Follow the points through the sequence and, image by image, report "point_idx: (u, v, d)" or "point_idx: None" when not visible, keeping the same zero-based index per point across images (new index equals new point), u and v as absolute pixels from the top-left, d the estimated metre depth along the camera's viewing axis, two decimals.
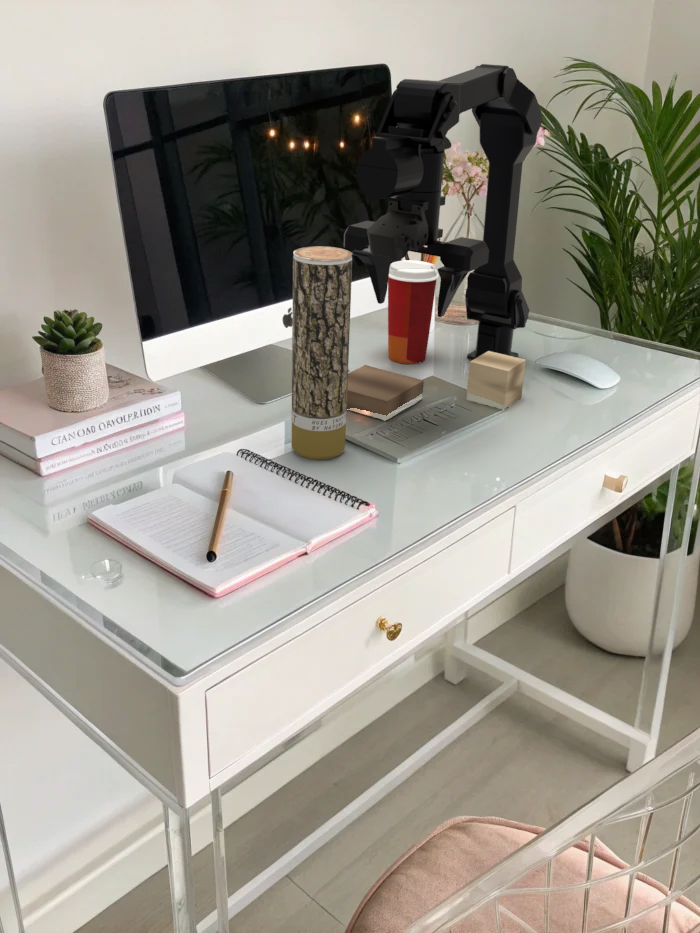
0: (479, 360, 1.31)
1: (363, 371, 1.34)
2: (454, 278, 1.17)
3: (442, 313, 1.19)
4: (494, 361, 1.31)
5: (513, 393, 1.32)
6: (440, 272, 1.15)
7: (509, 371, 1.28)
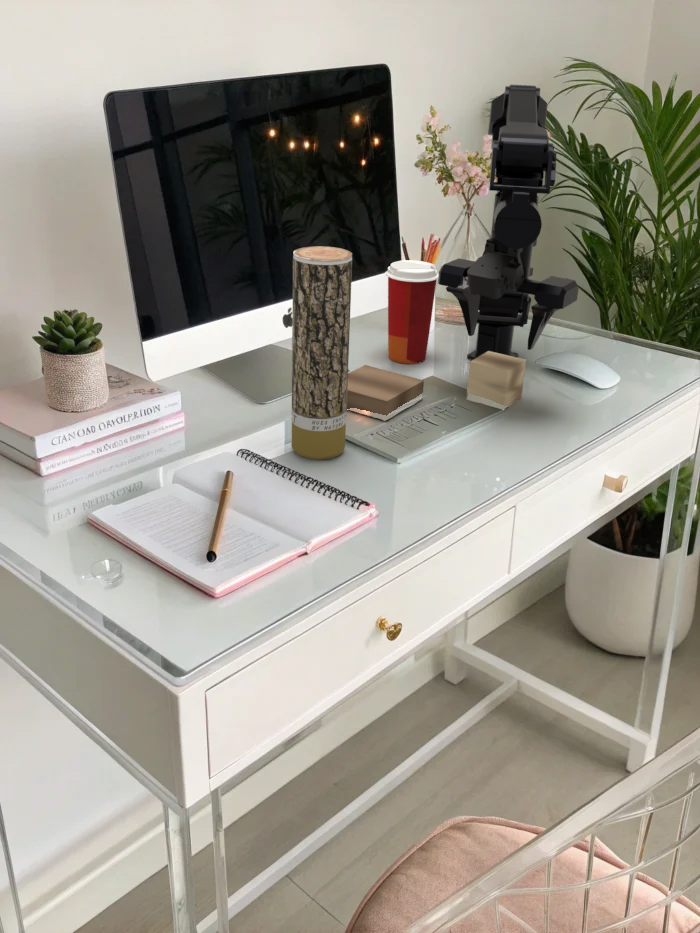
0: (479, 360, 1.31)
1: (363, 371, 1.34)
2: None
3: (532, 346, 1.28)
4: (494, 361, 1.31)
5: (513, 393, 1.32)
6: (533, 309, 1.23)
7: (509, 371, 1.28)
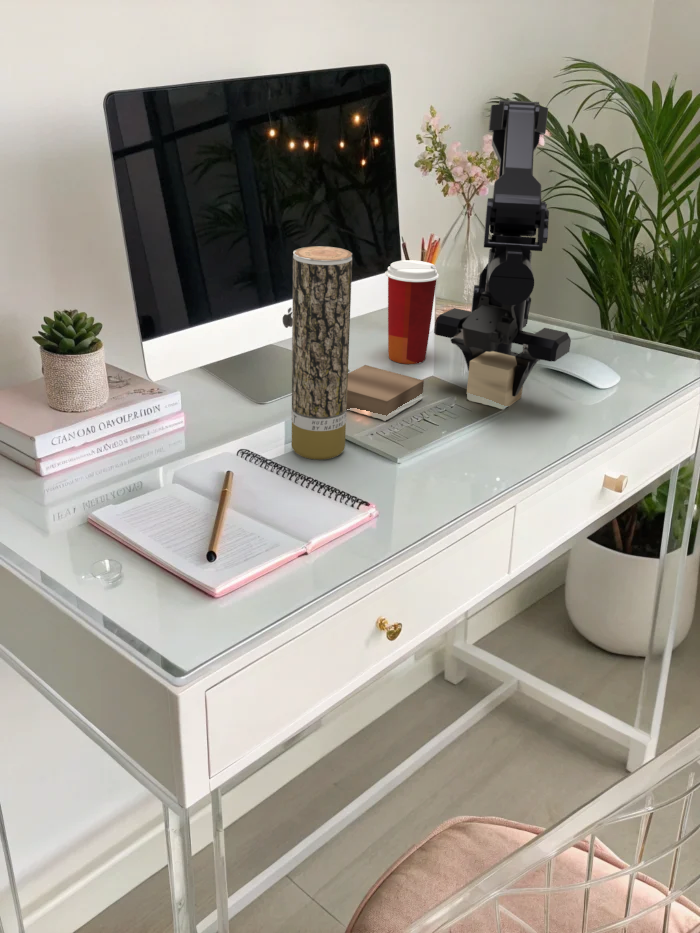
0: (479, 359, 1.31)
1: (363, 371, 1.34)
2: (528, 362, 1.29)
3: (516, 393, 1.31)
4: (494, 360, 1.31)
5: None
6: (517, 359, 1.27)
7: (509, 370, 1.28)
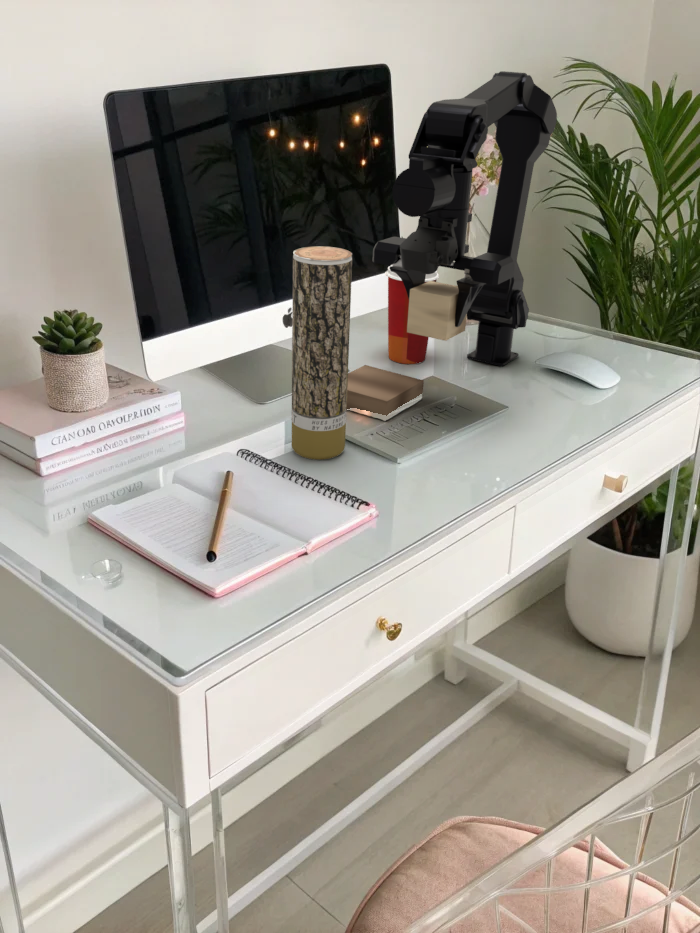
0: (420, 288, 1.24)
1: (363, 371, 1.34)
2: (471, 290, 1.23)
3: (459, 323, 1.25)
4: (435, 289, 1.25)
5: None
6: (459, 284, 1.20)
7: (451, 297, 1.21)
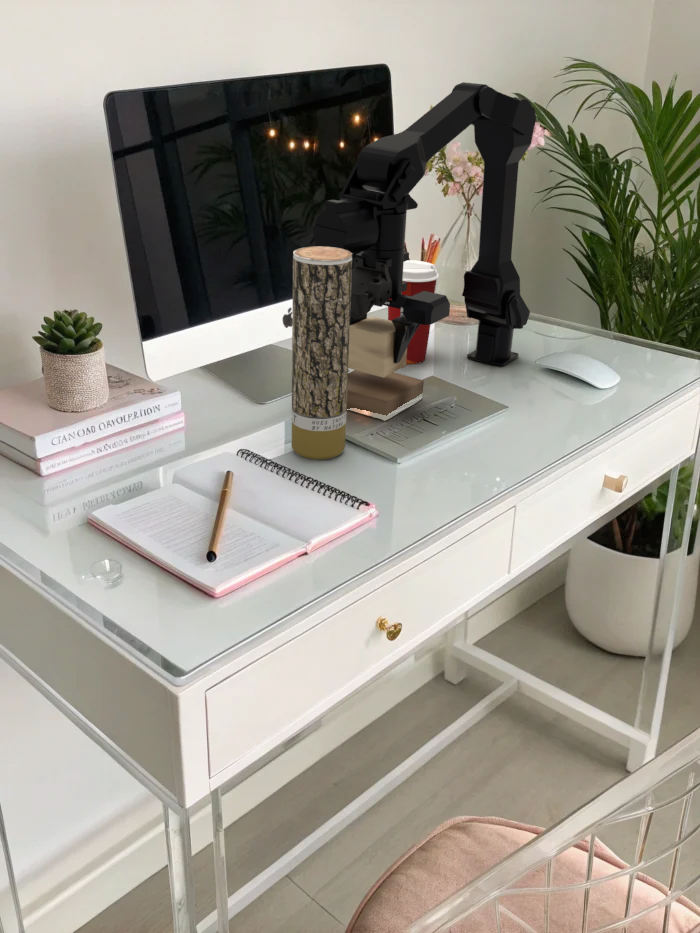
0: (359, 325, 1.26)
1: None
2: (408, 327, 1.24)
3: (398, 360, 1.26)
4: (374, 325, 1.26)
5: None
6: (394, 323, 1.22)
7: (387, 335, 1.23)
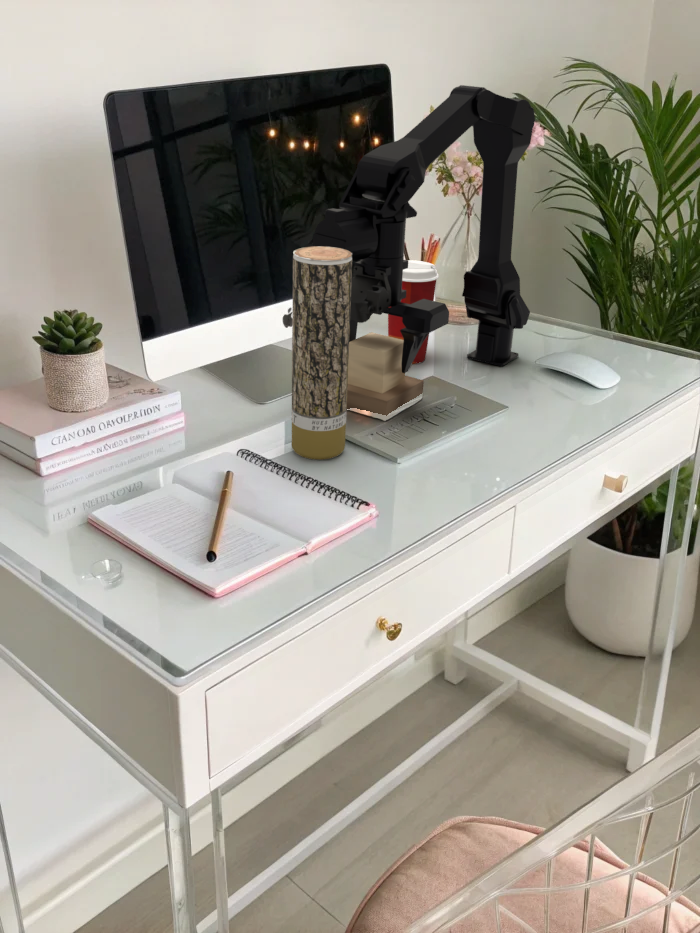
0: (358, 341, 1.27)
1: None
2: (417, 337, 1.24)
3: (406, 369, 1.26)
4: (373, 342, 1.27)
5: (393, 375, 1.27)
6: (402, 333, 1.21)
7: (386, 352, 1.24)
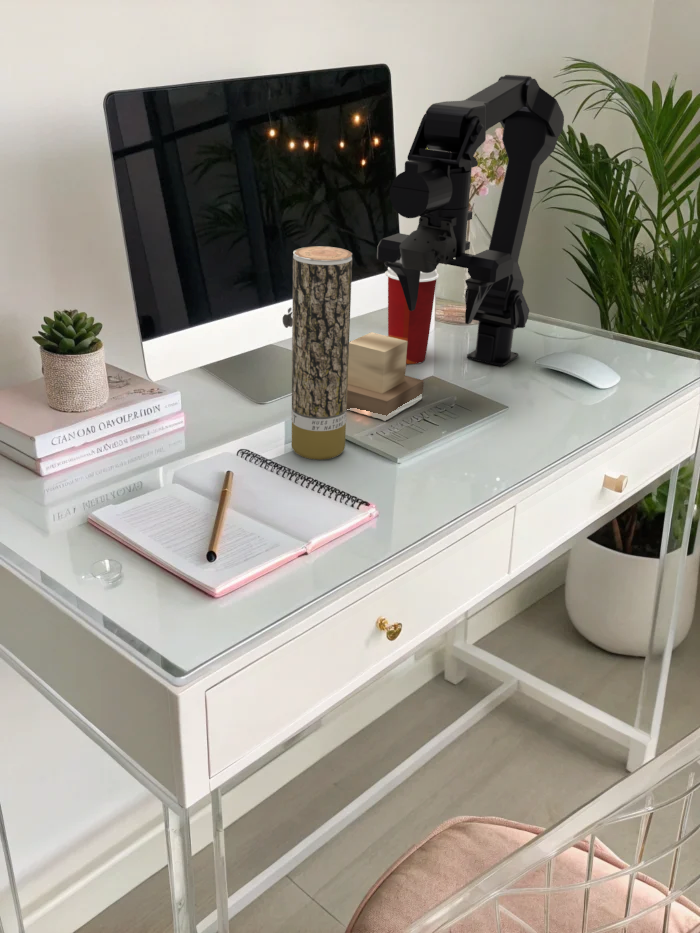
0: (358, 341, 1.27)
1: None
2: (481, 288, 1.26)
3: (469, 320, 1.28)
4: (373, 342, 1.27)
5: (393, 375, 1.27)
6: (468, 283, 1.23)
7: (386, 352, 1.24)
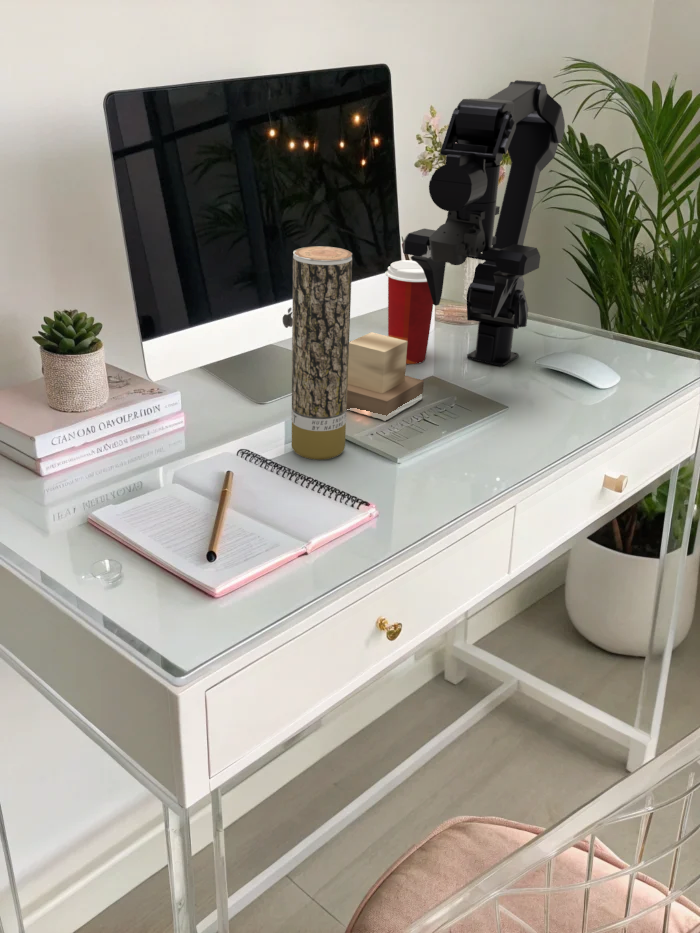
0: (358, 341, 1.27)
1: None
2: (507, 282, 1.27)
3: (495, 314, 1.29)
4: (373, 342, 1.27)
5: (393, 375, 1.27)
6: (495, 276, 1.24)
7: (386, 352, 1.24)
